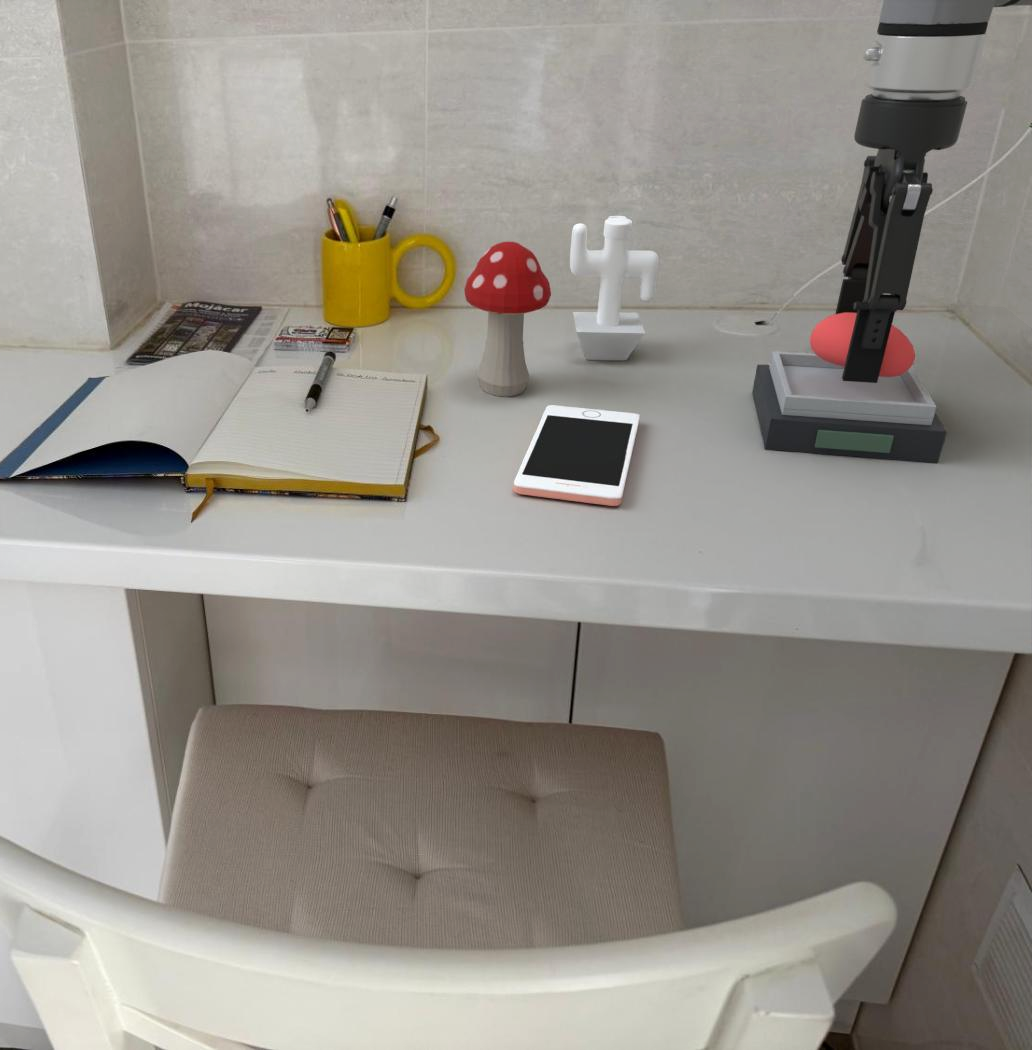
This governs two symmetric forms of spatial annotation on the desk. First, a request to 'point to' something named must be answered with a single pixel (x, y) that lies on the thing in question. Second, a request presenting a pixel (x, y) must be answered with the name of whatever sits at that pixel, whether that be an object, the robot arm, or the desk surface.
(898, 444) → the scale
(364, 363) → the desk surface
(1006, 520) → the desk surface
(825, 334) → the stress ball
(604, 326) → the figurine
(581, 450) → the cell phone
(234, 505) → the desk surface
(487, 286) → the decorative mushroom
